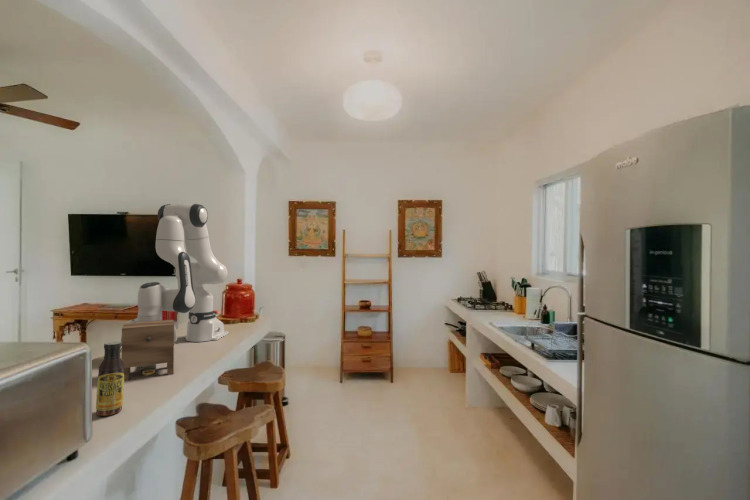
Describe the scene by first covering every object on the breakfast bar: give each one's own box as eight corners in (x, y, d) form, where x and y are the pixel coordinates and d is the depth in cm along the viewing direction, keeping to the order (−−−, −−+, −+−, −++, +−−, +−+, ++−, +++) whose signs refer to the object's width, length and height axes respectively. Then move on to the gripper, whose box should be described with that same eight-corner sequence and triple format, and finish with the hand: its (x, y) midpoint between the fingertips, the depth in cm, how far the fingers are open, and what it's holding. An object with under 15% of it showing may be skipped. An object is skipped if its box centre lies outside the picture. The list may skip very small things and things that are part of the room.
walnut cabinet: (124, 372, 139) (124, 323, 139) (172, 366, 147) (173, 319, 147) (121, 382, 129) (121, 329, 129) (173, 374, 137) (173, 324, 137)
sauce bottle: (95, 419, 102) (96, 347, 101) (96, 411, 107) (96, 342, 106) (124, 413, 105) (125, 343, 105) (123, 405, 110) (124, 339, 110)
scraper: (142, 357, 157) (143, 348, 157) (156, 356, 159) (156, 346, 159) (140, 370, 141) (140, 359, 141) (155, 368, 143) (156, 357, 143)
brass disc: (148, 372, 141) (148, 368, 141) (157, 372, 140) (157, 369, 140) (139, 375, 137) (139, 372, 137) (149, 376, 136) (149, 373, 136)
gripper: (177, 318, 163) (177, 349, 163) (121, 322, 153) (121, 356, 153) (178, 320, 158) (178, 353, 158) (120, 325, 148) (119, 360, 148)
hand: (149, 354), depth 155 cm, fingers closed on scraper, 2 cm apart
